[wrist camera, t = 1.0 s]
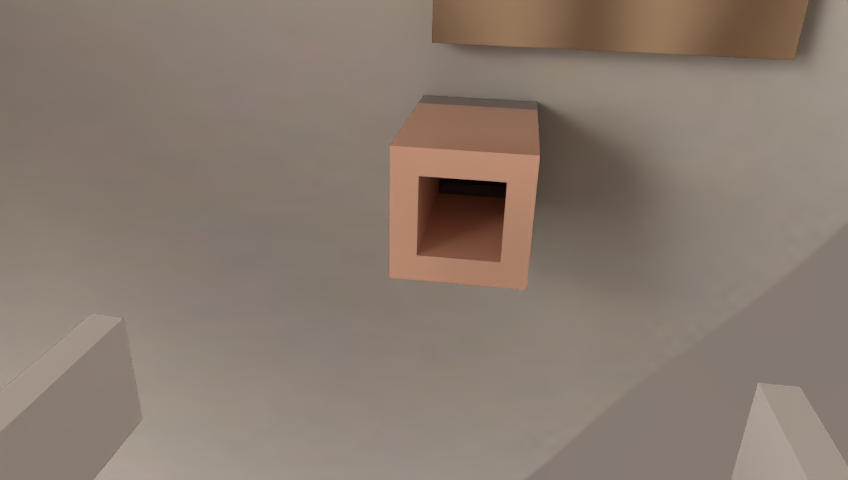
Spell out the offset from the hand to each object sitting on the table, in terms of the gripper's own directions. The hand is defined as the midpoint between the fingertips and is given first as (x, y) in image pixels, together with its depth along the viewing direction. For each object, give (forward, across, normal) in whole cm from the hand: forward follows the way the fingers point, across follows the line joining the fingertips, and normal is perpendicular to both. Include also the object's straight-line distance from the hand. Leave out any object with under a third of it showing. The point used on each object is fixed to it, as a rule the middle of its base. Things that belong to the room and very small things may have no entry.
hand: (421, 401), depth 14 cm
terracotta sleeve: (+18, 0, 0) cm, 18 cm away
